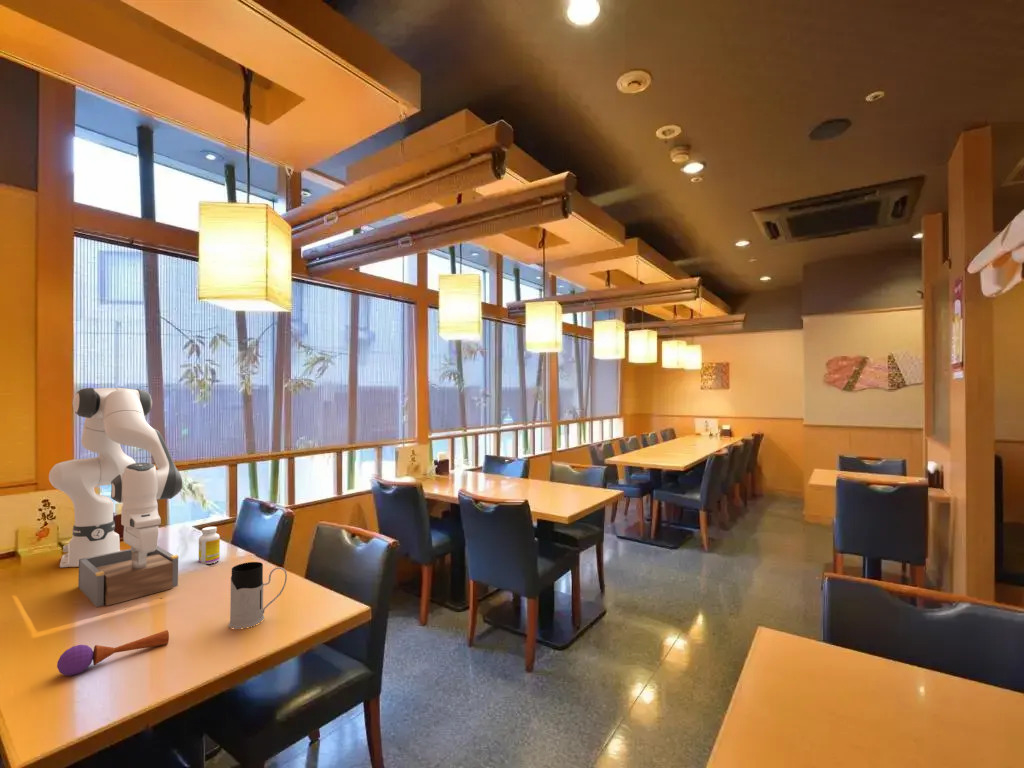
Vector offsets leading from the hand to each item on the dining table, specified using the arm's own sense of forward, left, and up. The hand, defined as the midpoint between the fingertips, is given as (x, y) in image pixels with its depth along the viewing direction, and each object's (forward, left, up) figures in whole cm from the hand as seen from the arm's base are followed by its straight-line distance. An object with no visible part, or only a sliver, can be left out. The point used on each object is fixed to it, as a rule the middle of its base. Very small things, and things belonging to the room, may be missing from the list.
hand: (139, 562), depth 146 cm
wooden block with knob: (-4, 0, -10) cm, 11 cm away
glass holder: (+44, +16, -11) cm, 48 cm away
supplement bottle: (-19, +26, -11) cm, 34 cm away
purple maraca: (+38, -13, -12) cm, 42 cm away
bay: (-11, 0, -11) cm, 16 cm away
